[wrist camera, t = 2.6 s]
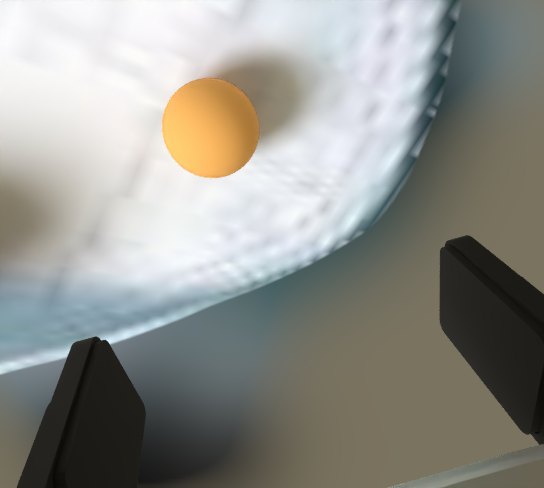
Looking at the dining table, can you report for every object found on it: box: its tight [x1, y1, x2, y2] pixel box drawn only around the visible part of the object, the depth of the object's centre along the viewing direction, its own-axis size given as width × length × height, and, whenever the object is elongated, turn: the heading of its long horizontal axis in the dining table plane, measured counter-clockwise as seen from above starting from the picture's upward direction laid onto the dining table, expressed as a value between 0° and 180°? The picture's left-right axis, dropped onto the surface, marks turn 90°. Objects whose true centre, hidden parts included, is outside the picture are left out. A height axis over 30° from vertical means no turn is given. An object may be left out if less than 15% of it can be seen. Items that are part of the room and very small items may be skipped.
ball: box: [162, 78, 259, 178], centre depth 26 cm, size 6×6×6 cm
